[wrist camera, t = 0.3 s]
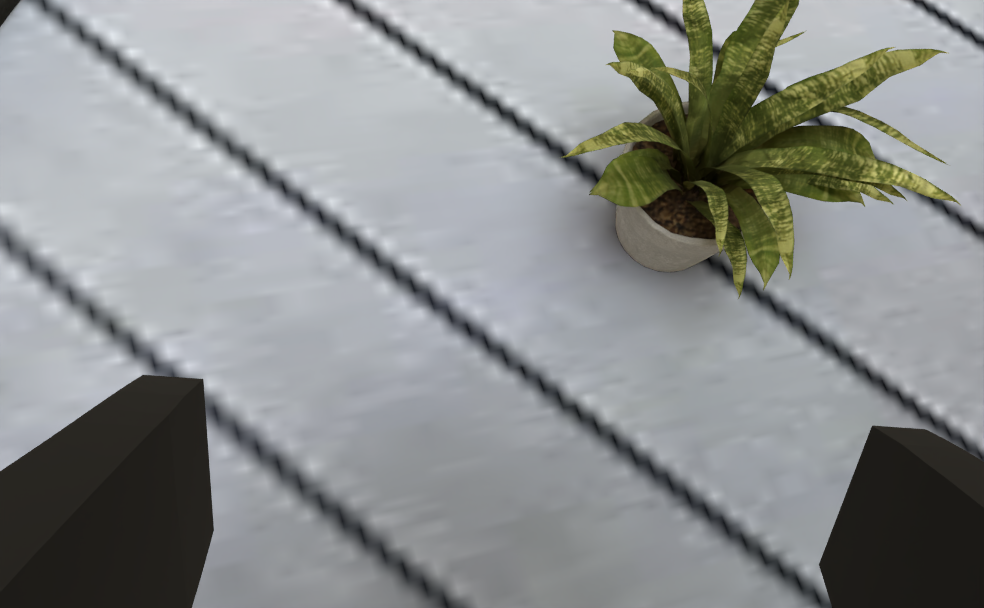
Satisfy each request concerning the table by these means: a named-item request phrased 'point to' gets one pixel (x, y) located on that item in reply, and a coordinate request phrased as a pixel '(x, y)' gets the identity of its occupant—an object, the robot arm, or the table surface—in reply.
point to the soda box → (6, 8)
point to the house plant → (741, 146)
